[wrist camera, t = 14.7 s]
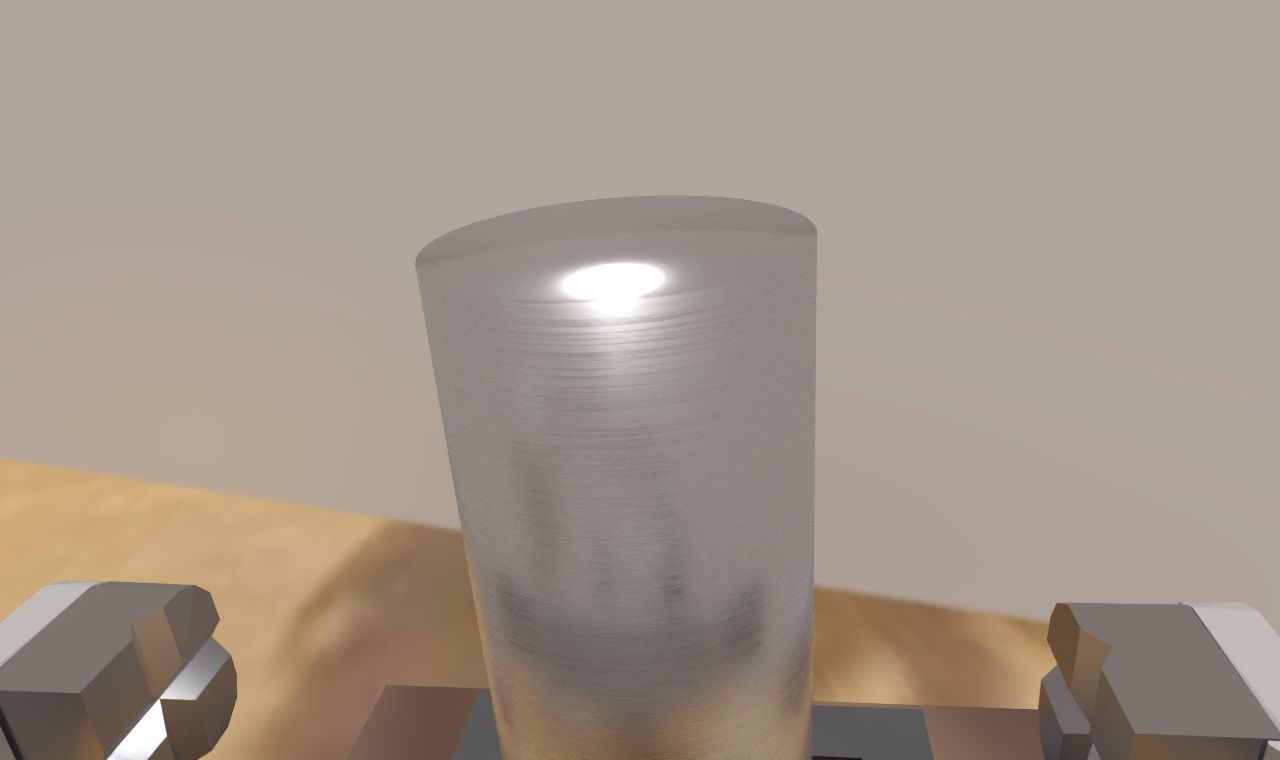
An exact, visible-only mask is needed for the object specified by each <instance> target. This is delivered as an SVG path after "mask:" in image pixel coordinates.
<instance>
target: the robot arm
mask: <svg viewBox="0 0 1280 760" xmlns="http://www.w3.org/2000/svg"><path fill="white" fill-rule="evenodd" d="M219 620H220V618H219V616H218V613H217V610H216V608H215V605H214V602H213V599H212V597H211V594H210V592H208V591H206V590H204V589H202V588H200V587H198V586H196V585H180V584H157V583H134V582H111V581H109V582H100V581H67V580H65V581H61V582H57V583H53V584H49V585H46V586H44V587H43V588H42V589H41V590H39V591H38V592H37V593H36V594H35V595H33V596H32V597H31V598H30V599H29V600H27V601H26V602H25V603H24V604H22V605H21V606H20V607H19V608H18V609H16V610H15V611H14V612H13V613H11V614H10V615H9V616H8V617H7V618H5V619H4V620H3V621H2V622H0V760H198V759H199V758H201V757H202V756H204V755H205V754H207V753H209V752H210V751H212V750H213V748H214V747H215V745H216V744H217V742H218V741H219V739H220V738H221V736H222V735H223V733H224V732H225V731H226V729H227V728H228V725H229V722H230V719H231V716H232V712H233V709H234V706H235V703H236V699H237V674H236V670H235V667H234V664H233V660H232V657H231V654H230V653H229V652H227V651H226V650H225V649H224V648H223V647H222V646H221V645H220V644H219V643H218V642H217V641H216V640H215V639H214V638H213V637H211V636H212V634H213V632H214V630H215V628H216V626H217V624H218V622H219ZM1047 641H1048V643H1049V646H1050V648H1051V650H1052V652H1053V655H1054V657H1055V659H1056V661H1057V664H1058V665H1057V666H1055V667H1054V668H1053V669H1052V670H1051V671H1050V672H1049V673H1048V674H1047V675H1046V676H1045V677H1044V678H1042V679H1041V687H1040V697H1039V706H1038V714H1039V728H1040V741H1041V746H1042V750H1043V754H1044V759H1045V760H1280V637H1279V636H1278V635H1277V634H1276V632H1275V631H1274V630H1273V629H1272V628H1271V626H1270V625H1269V624H1268V623H1267V622H1266V620H1265V619H1264V618H1263V617H1262V616H1261V614H1260V613H1259V612H1258V611H1257V610H1256V609H1255V608H1253V607H1251V606H1249V605H1247V604H1245V603H1243V602H1183V603H1181V602H1180V603H1179V604H1178V605H1173V604H1172V605H1169V604H1108V603H1107V604H1106V603H1103V604H1102V603H1057V604H1056V606H1055V608H1054V610H1053V613H1052V615H1051V618H1050V624H1049V630H1048V637H1047Z"/></svg>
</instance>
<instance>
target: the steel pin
mask: <svg viewBox="0 0 1280 760" xmlns="http://www.w3.org/2000/svg"><path fill="white" fill-rule="evenodd" d="M816 263H817V229H816V227H815V225H814V224H813V223H812V222H811V221H810V220H809V219H808V218H806V217H805V216H803V215H801V214H799V213H797V212H794V211H792V210H789V209H786V208H783V207H779V206H776V205H772V204H766V203H762V202H756V201H750V200H743V199H732V198H723V197H708V196H639V197H638V196H637V197H620V198H608V199H597V200H587V201H578V202H571V203H564V204H556V205H550V206H544V207H539V208H533V209H528V210H523V211H518V212H514V213H509V214H505V215H501V216H497V217H494V218H490V219H487V220H482V221H479V222H476V223H473V224H470V225H467V226H464V227H461V228H459V229H457V230H454V231H452V232H449V233H447V234H445V235H443V236H441V237H439V238H438V239H436V240H434V241H433V242H431V243H430V244H428V245H427V246H426V247H424V248H423V249H422V250H421V251H420V253H419V254H418V256H417V257H416V264H415V265H416V271H417V277H418V283H419V288H420V294H421V299H422V305H423V311H424V317H425V323H426V328H427V334H428V340H429V345H430V351H431V357H432V362H433V368H434V374H435V380H436V385H437V391H438V397H439V402H440V408H441V414H442V420H443V425H444V431H445V436H446V442H447V448H448V454H449V459H450V465H451V471H452V477H453V482H454V488H455V494H456V499H457V505H458V511H459V517H460V522H461V528H462V534H463V539H464V545H465V551H466V557H467V562H468V568H469V574H470V579H471V585H472V591H473V596H474V602H475V608H476V614H477V619H478V625H479V631H480V636H481V642H482V648H483V654H484V659H485V665H486V671H487V676H488V682H489V688H490V693H491V699H492V705H493V711H494V716H495V722H496V728H497V733H498V739H499V745H500V751H501V756H502V760H812V699H813V592H814V483H815V477H814V476H815V475H814V474H815V378H816V376H815V374H816V366H815V365H816V363H815V362H816V270H817V268H816V266H817V264H816Z"/></svg>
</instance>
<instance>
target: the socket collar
mask: <svg viewBox="0 0 1280 760" xmlns="http://www.w3.org/2000/svg"><path fill="white" fill-rule="evenodd" d="M452 760H502V756H501V751H500V745H499V739H498V733H497V728H496V722H495V716H494V711H493V705H492V699H491V693H484V692H479V693H478V695H477V698H476V700H475V702H474V705H473V707H472V710H471V712H470V715H469V717H468V720H467V722H466V725H465V727H464V730H463V732H462V735H461V737H460V740H459V742H458V745H457V747H456V750H455V752H454V755H453V757H452ZM812 760H934V758H933V753H932V749H931V745H930V740H929V736H928V731H927V727H926V723H925V718H924V714H923V710H922V709H900V708H874V707H848V706H822V705H812Z"/></svg>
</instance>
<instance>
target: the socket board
mask: <svg viewBox="0 0 1280 760" xmlns="http://www.w3.org/2000/svg"><path fill="white" fill-rule="evenodd" d="M479 692H484V693H490V689H478V688H452V687H425V686H399V685H386V687H385V689H384V691H383V693H382V694H381V696H380V698H379V700H378V702H377V704H376V705H375V707H374V709H373V711H372V713H371V715H370V717H369V718H368V720H367V722H366V724H365V726H364V728H363V730H362V731H361V733H360V735H359V737H358V739H357V741H356V743H355V744H354V746H353V748H352V750H351V752H350V754H349V755H348V757H347V759H346V760H452V757H453V755H454V752H455V750H456V747H457V745H458V742H459V740H460V737H461V735H462V732H463V730H464V727H465V725H466V722H467V720H468V717H469V715H470V712H471V710H472V707H473V705H474V702H475V700H476V698H477V695H478V693H479ZM812 705H822V706H848V707H874V708H900V709H922V710H923V714H924V718H925V723H926V727H927V731H928V736H929V740H930V745H931V749H932V753H933V758H934V760H1045V759H1044V754H1043V750H1042V746H1041V741H1040V728H1039V714H1038V710H1033V709H1006V708H980V707H953V706H927V705H901V704H874V703H848V702H821V701H812Z"/></svg>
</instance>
